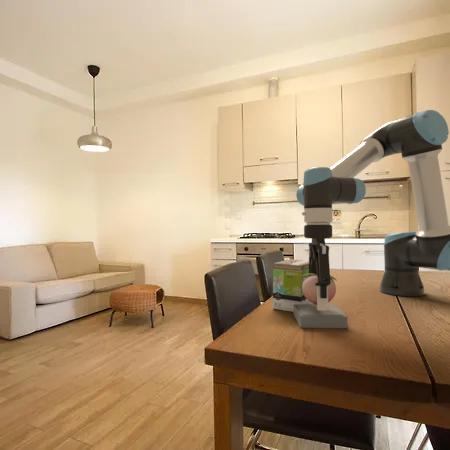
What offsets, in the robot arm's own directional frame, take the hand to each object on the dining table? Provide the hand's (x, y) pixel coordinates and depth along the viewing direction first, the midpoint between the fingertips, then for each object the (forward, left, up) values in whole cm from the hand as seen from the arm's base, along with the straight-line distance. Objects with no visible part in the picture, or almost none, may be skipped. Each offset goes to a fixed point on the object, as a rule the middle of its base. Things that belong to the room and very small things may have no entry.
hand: (318, 305), depth 88 cm
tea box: (+4, -16, -5) cm, 17 cm away
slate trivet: (0, 0, -4) cm, 4 cm away
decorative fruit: (0, 0, 0) cm, 0 cm away
